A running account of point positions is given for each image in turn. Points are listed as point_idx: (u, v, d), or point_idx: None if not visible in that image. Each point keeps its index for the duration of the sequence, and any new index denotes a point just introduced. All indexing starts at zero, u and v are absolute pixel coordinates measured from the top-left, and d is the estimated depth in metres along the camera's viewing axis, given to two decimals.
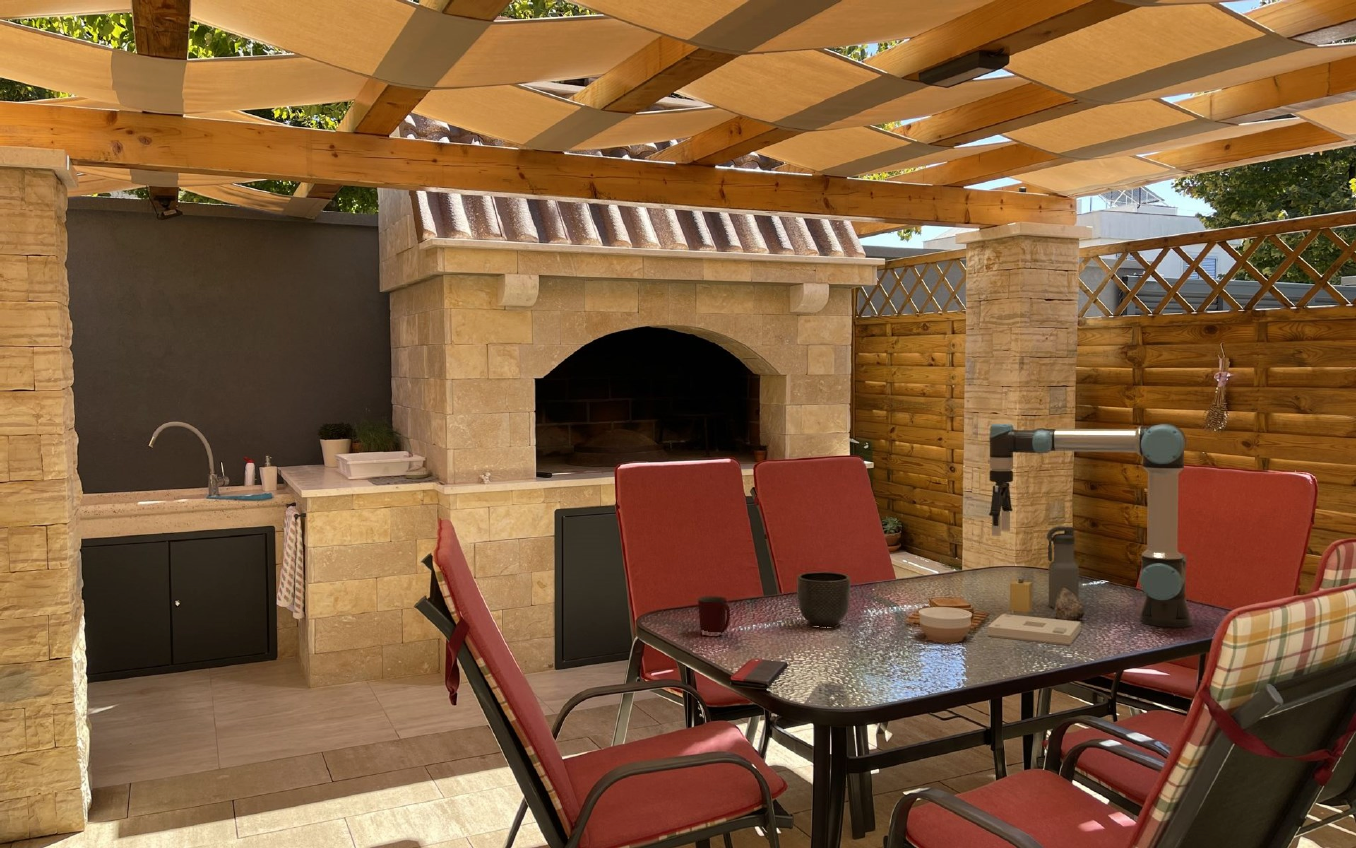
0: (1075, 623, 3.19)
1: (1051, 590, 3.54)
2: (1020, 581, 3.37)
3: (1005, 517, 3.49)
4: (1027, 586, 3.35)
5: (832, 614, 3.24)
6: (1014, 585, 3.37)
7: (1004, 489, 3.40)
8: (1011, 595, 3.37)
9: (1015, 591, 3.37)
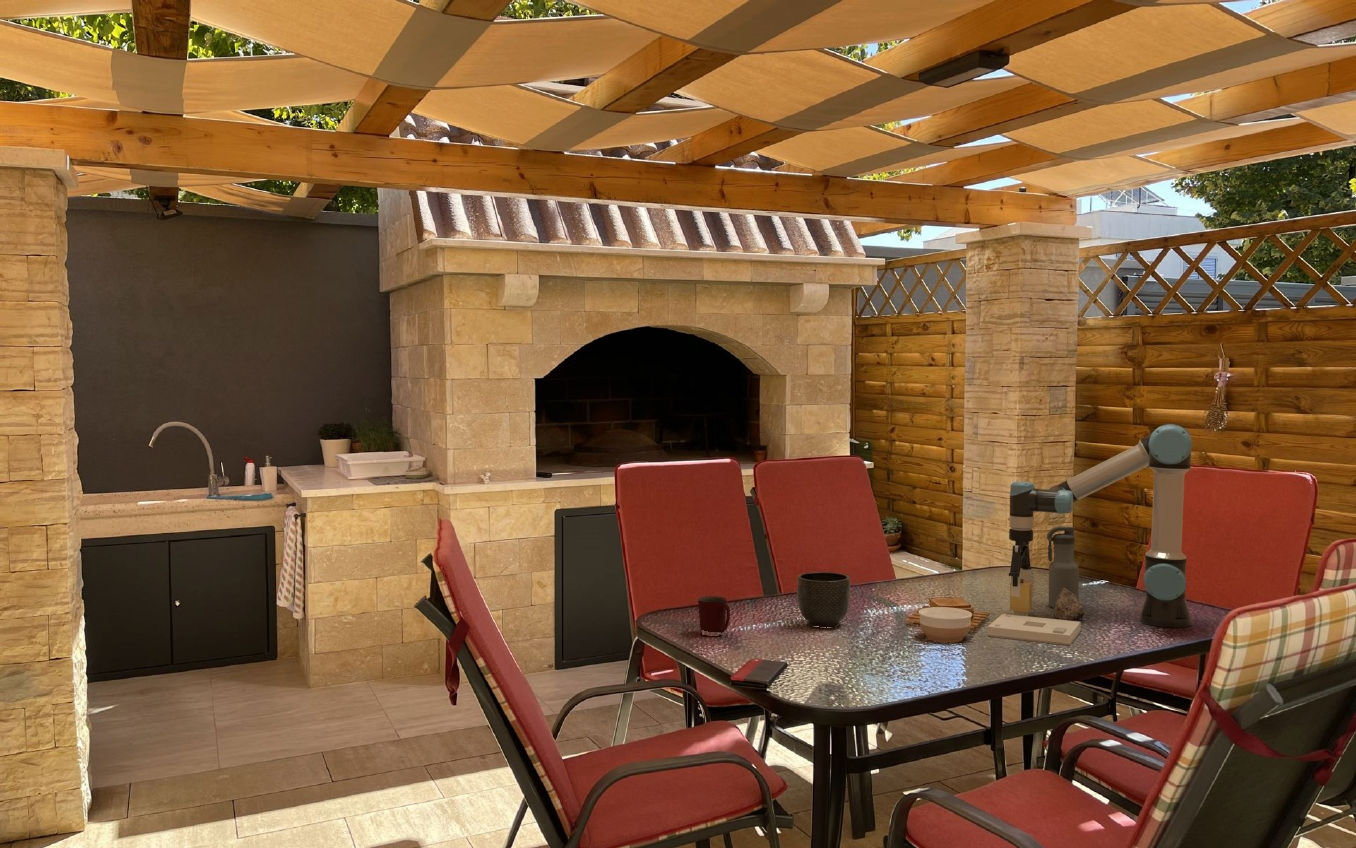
0: (1075, 623, 3.19)
1: (1051, 590, 3.54)
2: (1020, 581, 3.37)
3: (1024, 575, 3.44)
4: (1027, 586, 3.35)
5: (832, 614, 3.24)
6: None
7: (1024, 549, 3.35)
8: None
9: None
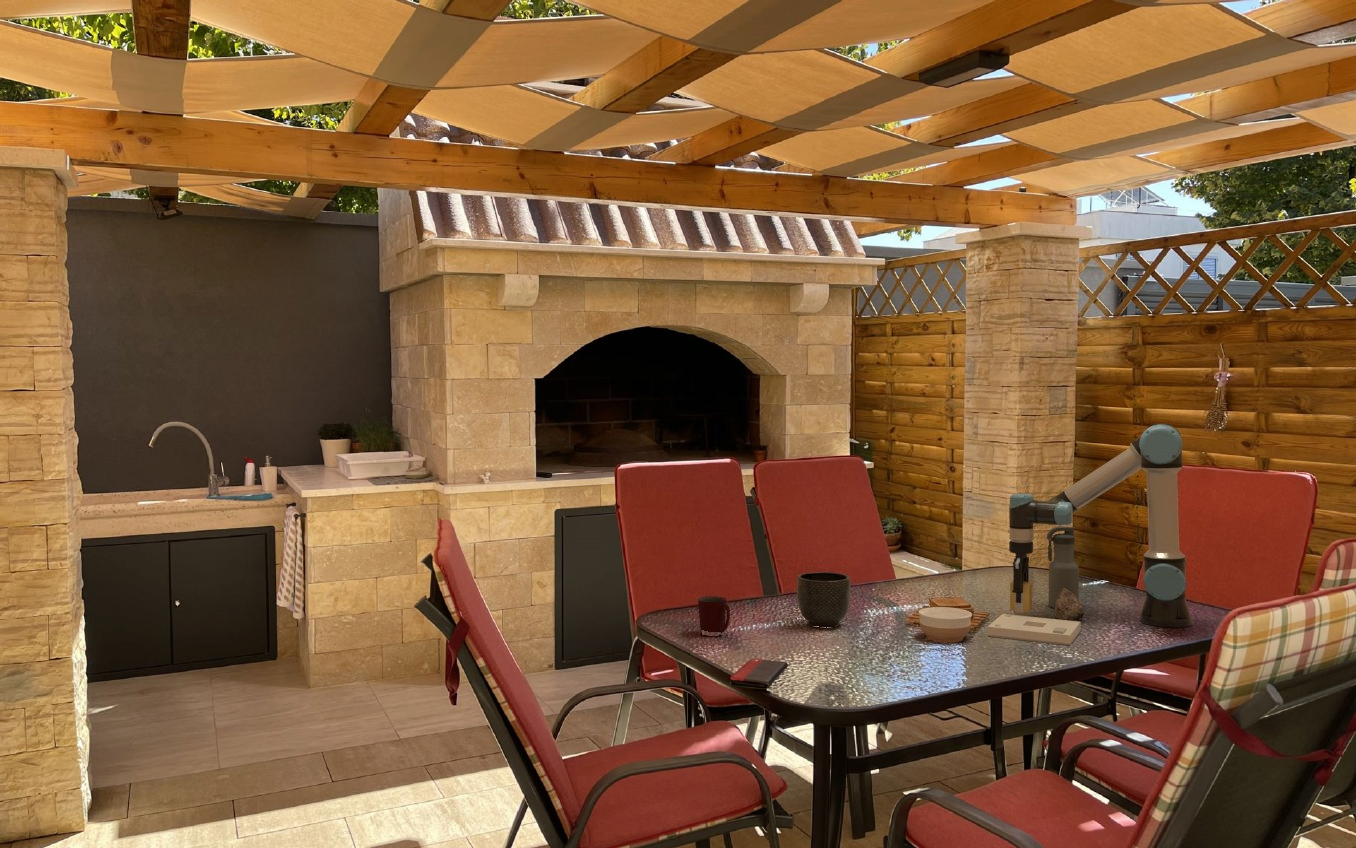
0: (1075, 623, 3.19)
1: (1051, 590, 3.54)
2: None
3: None
4: (1027, 586, 3.35)
5: (832, 614, 3.24)
6: None
7: (1024, 562, 3.35)
8: (1011, 595, 3.37)
9: None
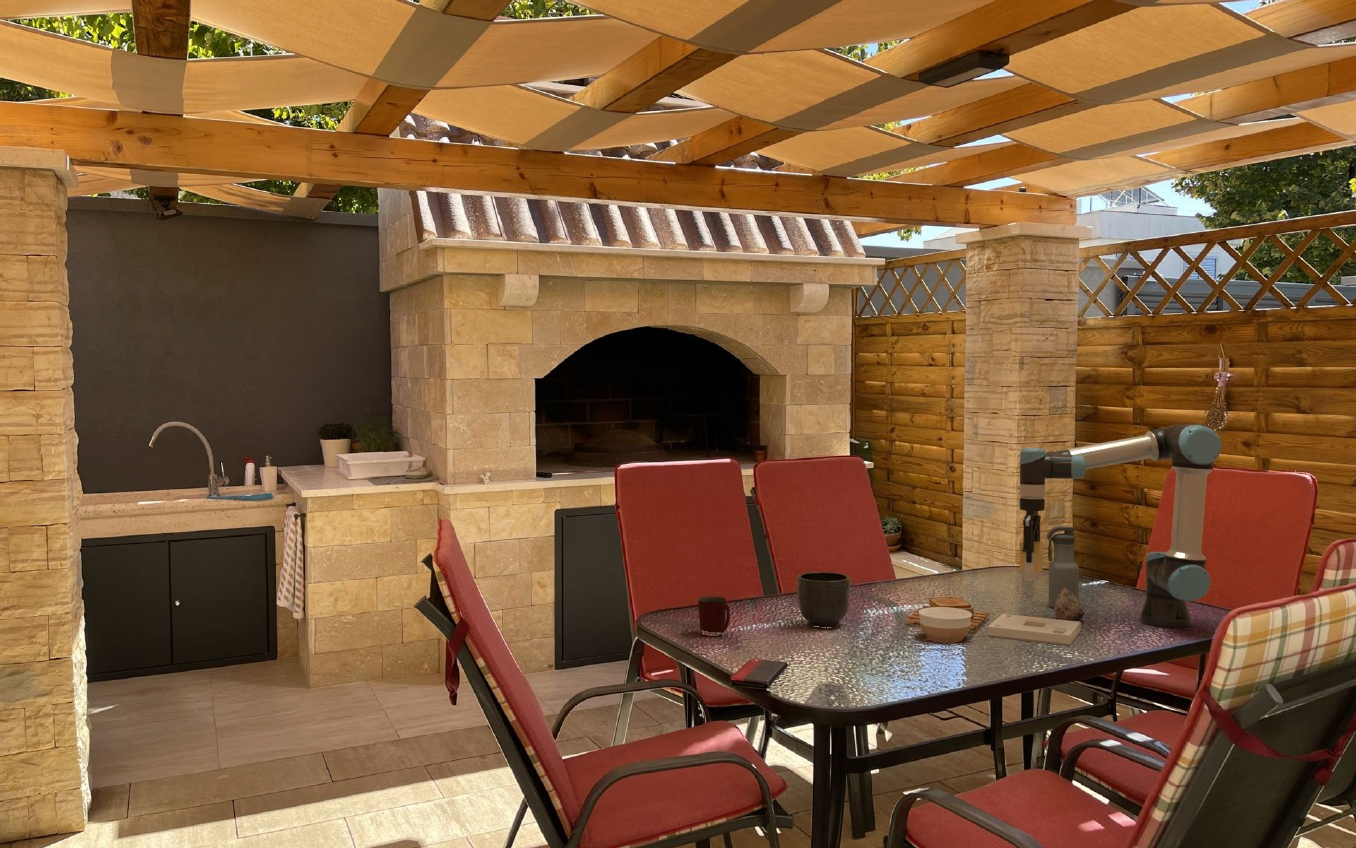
0: (1075, 623, 3.19)
1: (1051, 590, 3.54)
2: None
3: None
4: (1038, 545, 3.17)
5: (832, 614, 3.24)
6: None
7: (1035, 519, 3.18)
8: (1021, 555, 3.20)
9: None
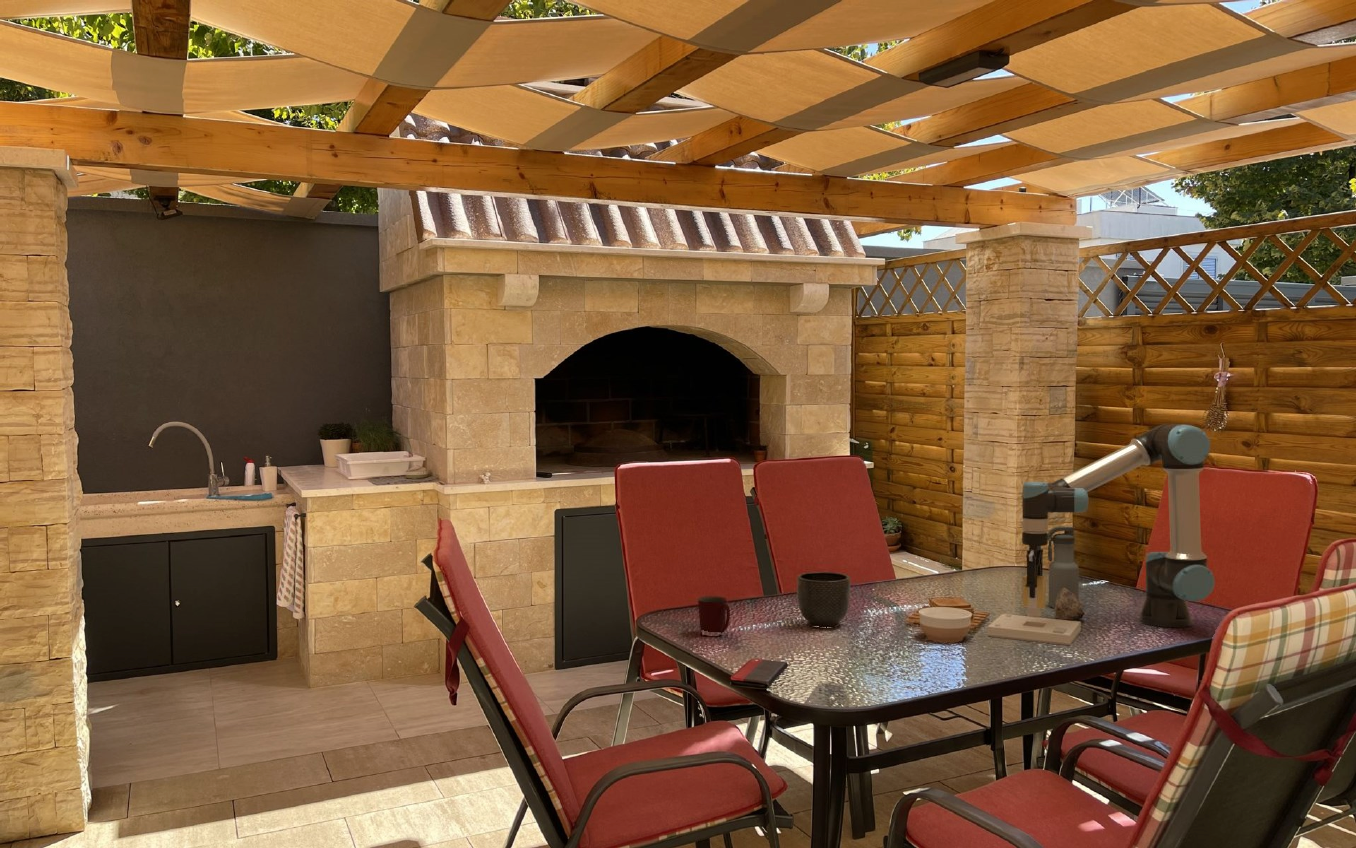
0: (1075, 623, 3.19)
1: (1051, 590, 3.54)
2: None
3: None
4: (1041, 580, 3.14)
5: (832, 614, 3.24)
6: None
7: (1038, 554, 3.15)
8: (1024, 590, 3.17)
9: None
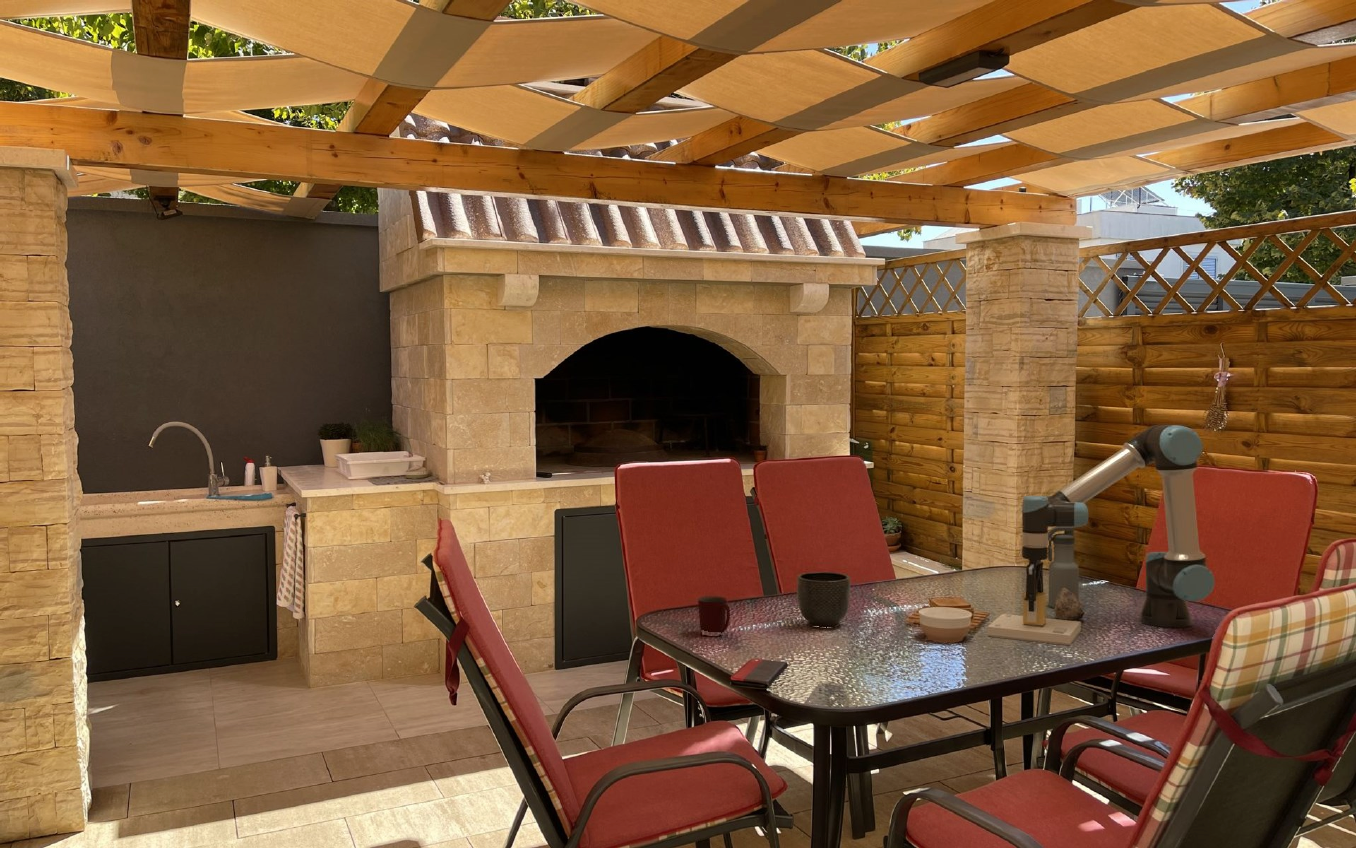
0: (1075, 623, 3.19)
1: (1051, 590, 3.54)
2: None
3: None
4: (1041, 598, 3.14)
5: (832, 614, 3.24)
6: None
7: (1038, 568, 3.15)
8: (1024, 607, 3.17)
9: None
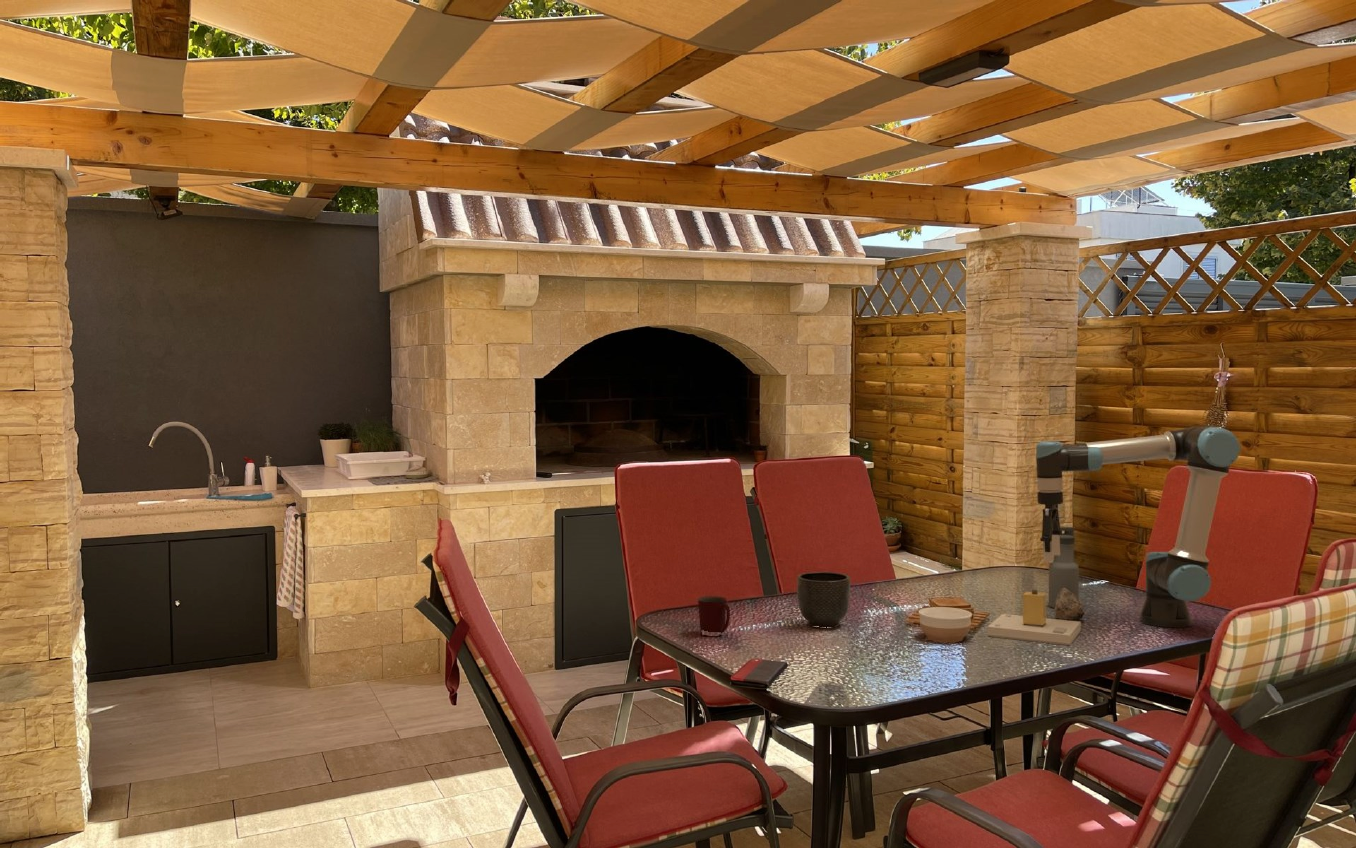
0: (1075, 623, 3.19)
1: (1051, 590, 3.54)
2: (1033, 592, 3.17)
3: (1055, 541, 3.26)
4: (1041, 597, 3.14)
5: (832, 614, 3.24)
6: (1027, 596, 3.16)
7: (1054, 512, 3.17)
8: (1024, 607, 3.17)
9: (1029, 602, 3.16)
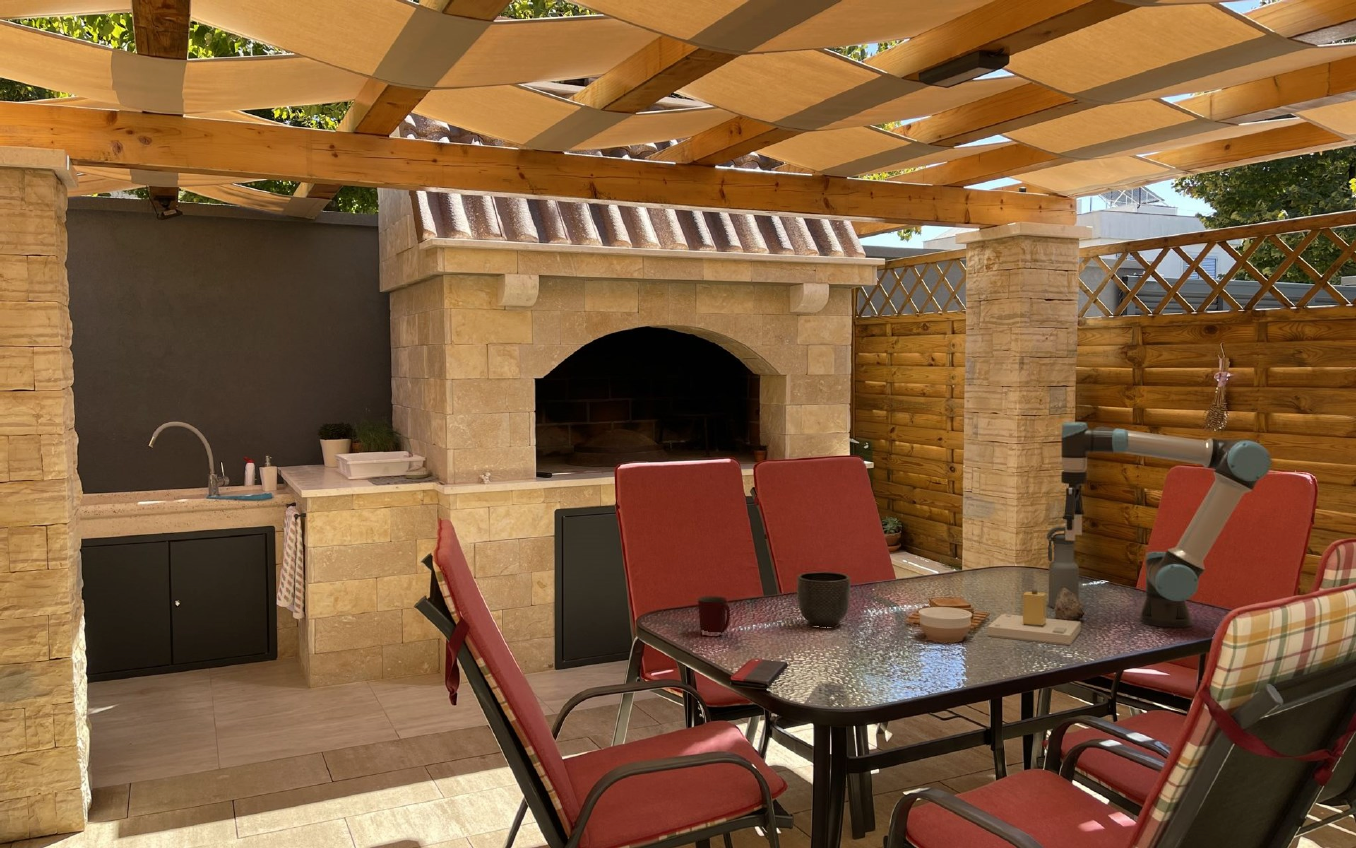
0: (1075, 623, 3.19)
1: (1051, 590, 3.54)
2: (1033, 592, 3.17)
3: (1077, 521, 3.31)
4: (1041, 597, 3.14)
5: (832, 614, 3.24)
6: (1027, 596, 3.16)
7: (1077, 491, 3.23)
8: (1024, 607, 3.17)
9: (1029, 602, 3.16)
